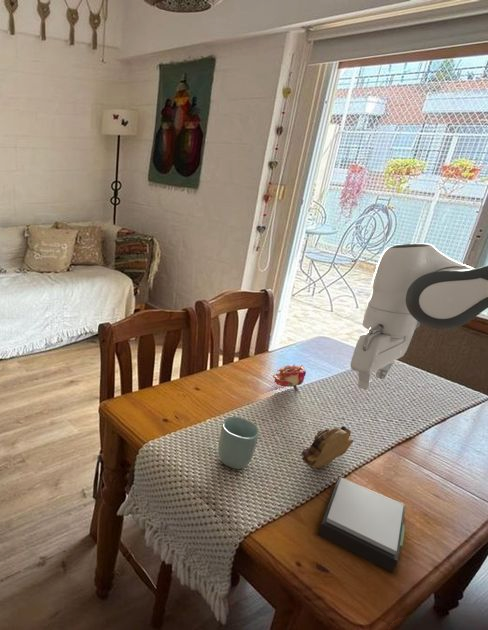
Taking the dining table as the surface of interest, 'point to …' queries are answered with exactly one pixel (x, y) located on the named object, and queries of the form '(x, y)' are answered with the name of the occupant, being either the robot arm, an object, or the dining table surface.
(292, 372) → the flower
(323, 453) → the wooden carving
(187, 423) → the dining table surface
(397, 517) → the kitchen scale
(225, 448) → the cup
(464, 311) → the robot arm
